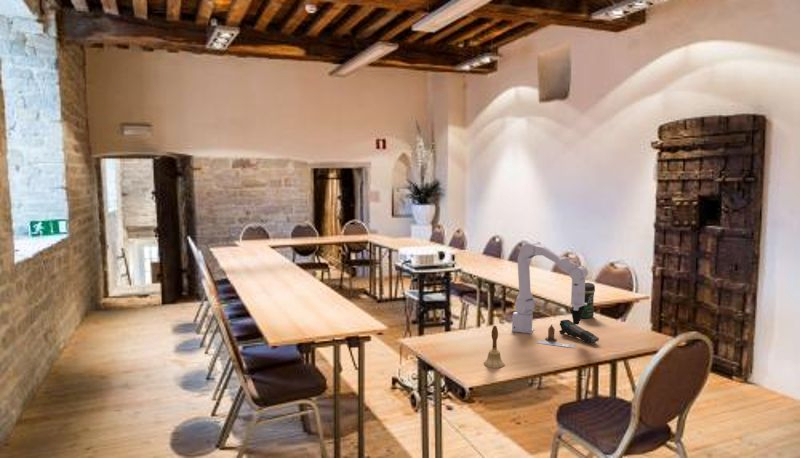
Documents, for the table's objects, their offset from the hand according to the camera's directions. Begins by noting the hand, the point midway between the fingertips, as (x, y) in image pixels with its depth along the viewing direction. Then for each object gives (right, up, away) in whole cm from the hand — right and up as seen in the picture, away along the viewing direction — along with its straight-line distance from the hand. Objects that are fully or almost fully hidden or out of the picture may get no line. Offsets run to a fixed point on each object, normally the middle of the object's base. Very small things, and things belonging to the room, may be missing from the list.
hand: (576, 322), depth 240 cm
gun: (+3, -9, +7) cm, 12 cm away
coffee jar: (+19, -5, +45) cm, 50 cm away
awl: (-10, -9, +5) cm, 14 cm away
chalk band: (-10, -10, -2) cm, 14 cm away
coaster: (-10, -9, +5) cm, 14 cm away
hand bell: (-43, -12, -27) cm, 52 cm away
